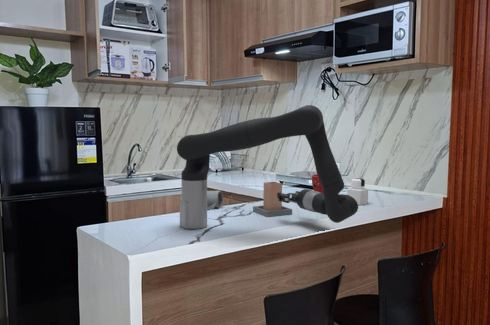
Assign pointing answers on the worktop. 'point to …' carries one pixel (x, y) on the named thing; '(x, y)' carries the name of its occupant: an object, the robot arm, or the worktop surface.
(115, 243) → the worktop surface
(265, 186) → the cup
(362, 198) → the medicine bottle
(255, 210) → the tray
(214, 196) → the ceramic mug
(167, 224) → the worktop surface
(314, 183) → the plant pot
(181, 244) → the worktop surface
